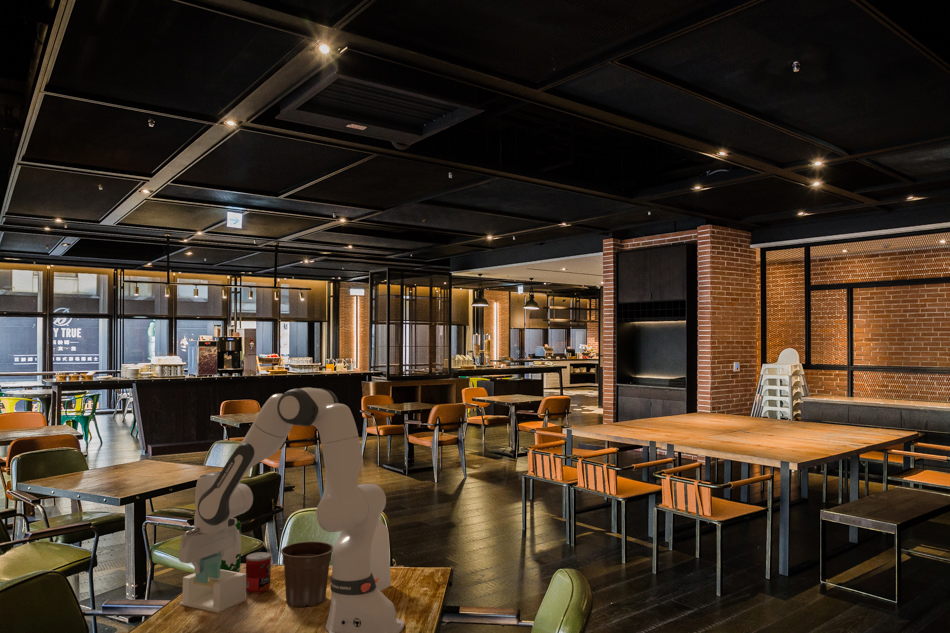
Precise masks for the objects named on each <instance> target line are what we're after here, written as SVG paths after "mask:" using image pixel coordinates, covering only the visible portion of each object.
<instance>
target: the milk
mask: <svg viewBox="0 0 950 633" xmlns="http://www.w3.org/2000/svg"><path fill="white" fill-rule="evenodd" d="M389 536H390V534H389V530H388V527H387V526H386V524H384V523H383V522H382V520H381V519H379V520H378V523H377V526H376V530H375V534H374V538H373V543H372V555H371V572H372V574H373V577H374V580H375V579H376V578H378V577H379V579H378V580H379V581H378V580H377V581H378V582H377V583H376V588H377V589H378V590H379V591H380V592H382V591H383V590H385V589H387V588H388V587H391V585H392V581H391V579H392V578H391V577H392V576H391V559H390V558H391V556H390V537H389Z"/></svg>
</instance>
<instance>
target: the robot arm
mask: <svg viewBox="0 0 950 633" xmlns="http://www.w3.org/2000/svg"><path fill="white" fill-rule="evenodd" d="M293 426H300V427H301V426H302V427H310V426H313V427H315V428H316V430H317V431H318V433H319V438H320V439H319V440H320V444H321V446H320V447H321V450H322V456H323V461H324V462H323V464H324V472H325V477H324V488H323V493H322V497H321V499H320V501H319V503H318V504H317V507H316V510H315V517H316V521H317V523H318V525H319V527H321V529H322V530H323V531H325V532H327V533H339V532H340V534H339V537H338V539H337V540H336V542H335V543H334V545H333V547H334V548H333V551H332V566H331V567H332V571H331V572H332V574H331V576H330V592H331V597H330V604H329V612H328V617H327V621H326V623H325V629H326V631H327V632H328V633H401V632H402V630H404V628H405V622H404V620H402V619H400V618H397V612H396V607H395V605H394V603H393V602H392V601H391V600H390V599H389V598H388V597H387V596H386V595H385V594H384V593H383V592H382V591H379V590H378V589H377V588H376V583H377V582H378V581H379V580H378V579H379V577H378V578H376V579H375V580H374V577H373V574H372V572H371V555H372V543H373V538H374V534H375V530H376V526H377V523H378V520H380V517H381V514H382V513H383V511H384V510H385V507H386V505H387V497H386V493H385V491H384V490H383V488H381V487H380V486H379V485H377V484H375V483H360V484H359V474H360V471H361V469H362V467H363V465H364V457H363V452H362V447H361V446H362V445H361V442H360V436H359V433H358V427H357V425H356V421H355V419H354V416H353V413H352V411H351V409H350V407H349V406H348V405H346V404H344V403H339V400H338V397H337V395H336V394H335V393H334V392H333V391H331V390H329V389H326V388H323V387H322V388H317V387H314V388H313V387H301V388H293V389H289V390H287V391H286V392H284V393H275V394H272V395H271V396H270V397H269V398H268V399H267V400H266V401H265V403H264V404H263V405H262V407H261V408H260V410H259V412H258V413H257V415H256V417H255V419H254V421H253V422H252V424H251V426H250V428H249V429H248V431H247V432H246V435H245V436H244V438H242V441H241V442H240V443H239V445H238V446H237V447H236V448H235V450H234V451H233V452H232V454H231V455H230V457H229V458H228V460H227V462H226V463H225V465H224V467H223V468H222V469H221V471H213V472H209V473H204V474H202V475H200V476H199V477H198V479H197V482H196V485H195V486H196V487H195V494H194V496H195V497H194V503H195V513H194V517H193V519H194V521H193V522H194V525H193V529H190V530H187V531H185V532H184V533H183V535H182V536H181V540H180V544H179V551H178V561H179V562H180V563H184V564H192V566H193V567H194V573H196V574H199V573H201V572H203V570H202V569H203V567H200V565H199V563H200V559H202V558H204V557H207V556H210V555H213V554H215V553H216V554H219V555H221V558H220V565H221V560H222V558H223V556H224V552H225V550H227V549H229V548H232V547H234V546H235V545H236V543H237V528H236V526H235V525H236V524H237V521H238V520H237V518H235V517H237V516H240V515H241V514H245V513H246V512H249V510H250V509H251V508H252V506H253V503H254V493H253V490H252V489H251V487H250V486H248V484H245V483H241V481H242V479H243V478H244V477H245V475H246V474H247V472H248V471H250V470H251V469H252V468H253V467H254V466H255V465H257V464H259V463H261V462H262V461H264V460H266V459H268V458H270V457H272V456H274V455H275V454H276V453H277V452H278V451H279V450H280V448H281V447H282V446H283V445H284V443H285V442H286V439H288V438H287V437H288V435H289V434H290V432H291V430H292V428H293ZM377 580H378V581H377Z"/></svg>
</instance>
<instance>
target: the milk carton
mask: <svg viewBox="0 0 950 633" xmlns="http://www.w3.org/2000/svg"><path fill="white" fill-rule="evenodd" d="M235 526H236V528H237V543H236V545H235V546H234V547H232V548H229V549H227V550H225V552H224V556H223V558H222V560H221V565H220V569H222V570H228V571H233V572H239V573H240V570H241V562H242V525H241V520H237V524H236V525H235ZM215 554H216V553H215Z"/></svg>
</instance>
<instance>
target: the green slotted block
mask: <svg viewBox="0 0 950 633" xmlns="http://www.w3.org/2000/svg"><path fill="white" fill-rule="evenodd" d="M220 558H221V555H219V554H213V555H210V556H207V557H204V558H202V559H200V563H199V565H200V567H203V569H202V570H203V572H201V573H199V574H196V575H195V582H199V583H204V584H205V583H208V577H211V578H216V579H217V578H220Z"/></svg>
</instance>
